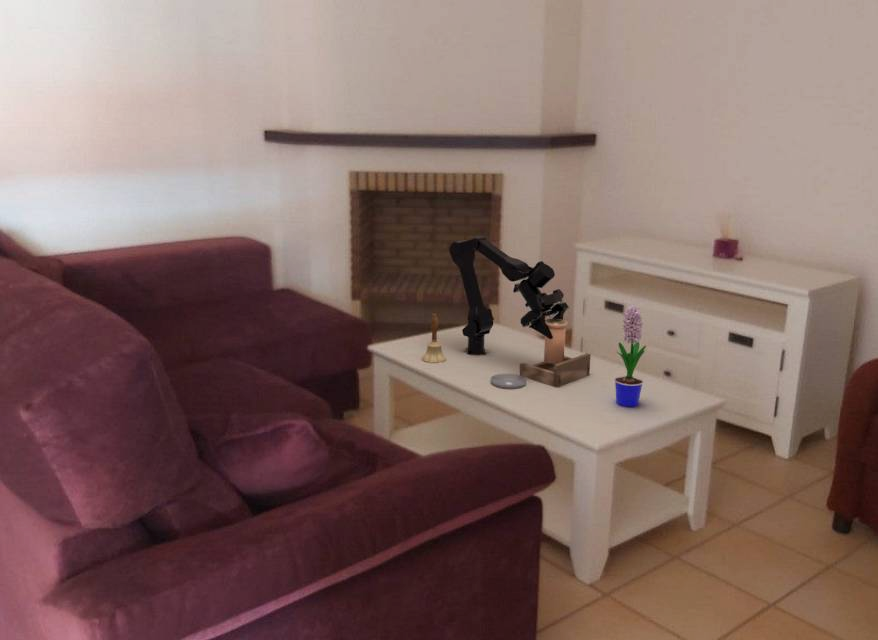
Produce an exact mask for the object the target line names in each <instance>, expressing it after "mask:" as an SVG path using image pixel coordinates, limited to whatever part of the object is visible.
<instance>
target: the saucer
mask: <svg viewBox="0 0 878 640" xmlns="http://www.w3.org/2000/svg"><path fill="white" fill-rule="evenodd" d="M490 384H491V386H493V387H496V388H498V389H504V390H517V389H522V388H524V387H526V386H527V378H526V377H523V376H520V374H515V373H499V374H495V375H493V376H491V378H490Z"/></svg>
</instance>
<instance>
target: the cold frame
mask: <svg viewBox="0 0 878 640" xmlns="http://www.w3.org/2000/svg"><path fill="white" fill-rule="evenodd" d="M551 367H554V370H553V371H552V370H548V368H551ZM590 368H591V353H588V352H587V353H586V352H585V353H583V354H581V355H578V356H576V357H569V356H565V355H564V362H561V363H558V364H550V363H547V362H545V361H544V360H543V361H541V362H537V363H535V364H529V363H525V362H522V363H520V365H519V375H520V376H523V377H524V378H526V379H529V380H532V381H536V382H539V383H542V384H545V385H547V386H548V385H549V386H552V387H555V388H559V387H562V386H564V385H567V384H570V383H572V382H575V381H577V380H580V379H582V378H585V377H588V376H590V370H591V369H590Z"/></svg>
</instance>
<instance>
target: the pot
mask: <svg viewBox="0 0 878 640" xmlns="http://www.w3.org/2000/svg"><path fill="white" fill-rule="evenodd" d="M545 323H546V325H547V326H548V328H549V330H550V332H551V334H552V336H553V338H552V339H549V338H547V337H546V336H544V348H543V349H544V351H543V362H544V361H545V362H547V363H550V364H558V363H561V362H564V356H565V347H566V335H567V330H566V329H567V326H568V321H567V320H565V319H563V320H562V319H551V318H547V319H545Z"/></svg>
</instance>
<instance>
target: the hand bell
mask: <svg viewBox="0 0 878 640" xmlns="http://www.w3.org/2000/svg"><path fill="white" fill-rule="evenodd" d="M430 329H431V342H429V343H427V348H426V350H425V351H426V352H425V353H424V355H422V358H421V360H422V361H423V362H425V363H428V362H430V364H440V363H439V362H441V363H445V362H446V361H447V357H446V356H445V355H444V353H443V350H442V345H441V343H440V342H438V336H437V335H438V334H437V332H438V329H439V319H438V316H437V313H432V316H431V318H430Z"/></svg>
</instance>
